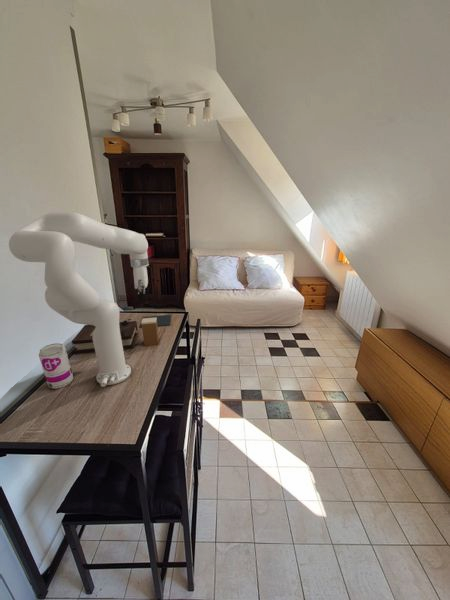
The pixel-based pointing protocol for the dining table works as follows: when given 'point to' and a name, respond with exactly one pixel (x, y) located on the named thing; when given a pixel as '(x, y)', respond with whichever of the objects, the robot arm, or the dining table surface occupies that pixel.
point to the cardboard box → (150, 331)
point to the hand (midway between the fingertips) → (144, 298)
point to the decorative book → (85, 335)
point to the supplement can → (56, 365)
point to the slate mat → (161, 320)
